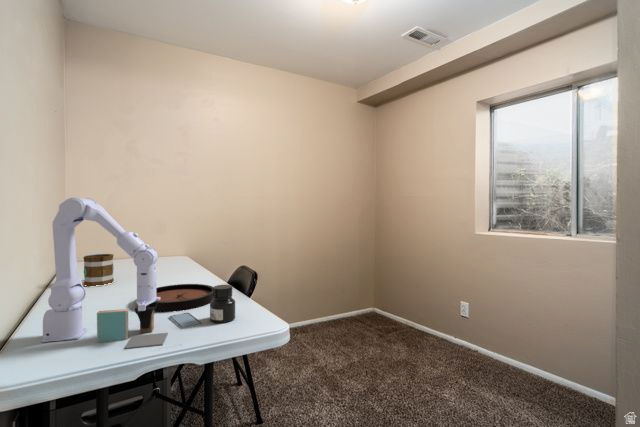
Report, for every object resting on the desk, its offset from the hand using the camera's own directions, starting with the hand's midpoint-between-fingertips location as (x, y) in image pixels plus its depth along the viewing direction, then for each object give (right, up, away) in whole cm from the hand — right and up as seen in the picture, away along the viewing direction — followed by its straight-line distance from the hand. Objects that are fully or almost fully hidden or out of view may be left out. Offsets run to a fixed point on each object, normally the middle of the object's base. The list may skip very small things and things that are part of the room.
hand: (147, 326), depth 109 cm
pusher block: (0, -2, 0) cm, 2 cm away
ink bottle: (+22, -2, +11) cm, 25 cm away
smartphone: (+9, -2, +10) cm, 13 cm away
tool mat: (+4, -2, -8) cm, 9 cm away
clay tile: (-7, -2, -7) cm, 10 cm away
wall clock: (-5, -1, +35) cm, 35 cm away
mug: (-62, 0, +68) cm, 92 cm away
